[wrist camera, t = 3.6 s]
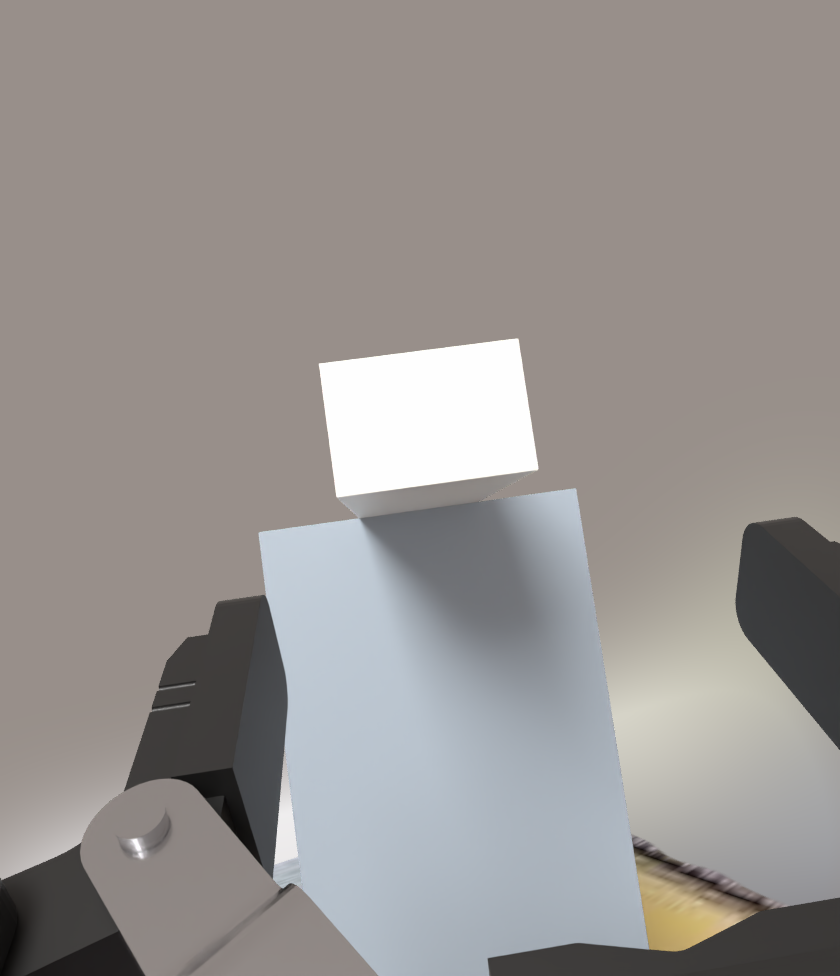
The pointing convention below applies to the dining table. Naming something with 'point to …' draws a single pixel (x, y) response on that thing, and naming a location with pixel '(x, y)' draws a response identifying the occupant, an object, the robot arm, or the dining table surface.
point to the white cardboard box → (427, 427)
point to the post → (452, 734)
